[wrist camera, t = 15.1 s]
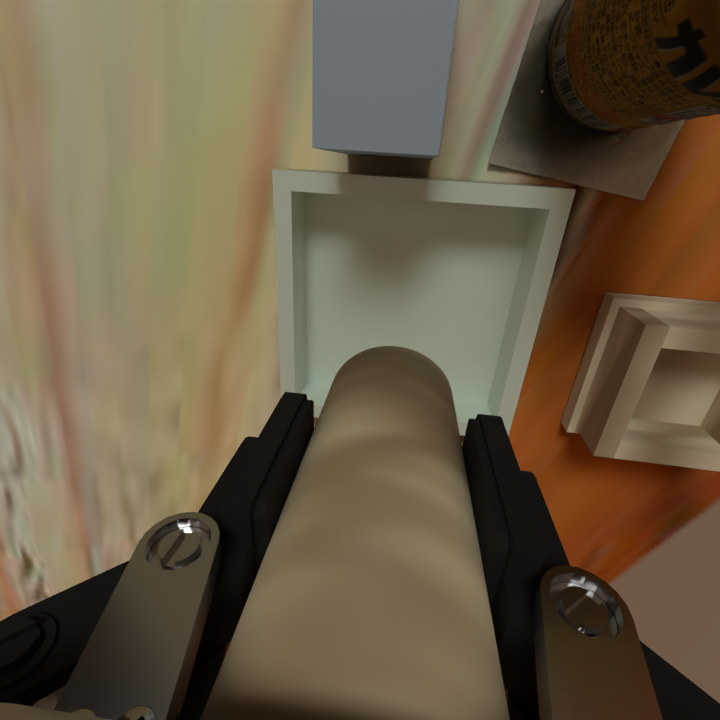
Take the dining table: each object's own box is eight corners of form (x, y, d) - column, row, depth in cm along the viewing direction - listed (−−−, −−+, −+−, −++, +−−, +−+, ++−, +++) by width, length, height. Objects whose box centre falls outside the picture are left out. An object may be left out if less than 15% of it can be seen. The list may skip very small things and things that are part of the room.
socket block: (776, 307, 19) (844, 333, 16) (704, 438, 23) (749, 481, 20) (605, 291, 20) (639, 314, 17) (560, 422, 24) (582, 460, 21)
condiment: (764, -44, 14) (1755, -640, 4) (641, 201, 18) (957, 249, 8) (568, -88, 15) (985, -787, 4) (486, 163, 18) (583, 158, 8)
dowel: (463, 353, 12) (565, 726, 4) (443, 458, 14) (485, 871, 6) (331, 339, 12) (174, 657, 4) (328, 444, 14) (211, 813, 6)
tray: (553, 186, 18) (575, 189, 16) (497, 410, 24) (506, 440, 21) (292, 168, 20) (272, 169, 17) (296, 386, 25) (281, 413, 22)
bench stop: (456, -42, 15) (481, -183, 9) (431, 159, 19) (438, 155, 12) (354, -44, 16) (313, -181, 10) (347, 154, 19) (312, 147, 13)
